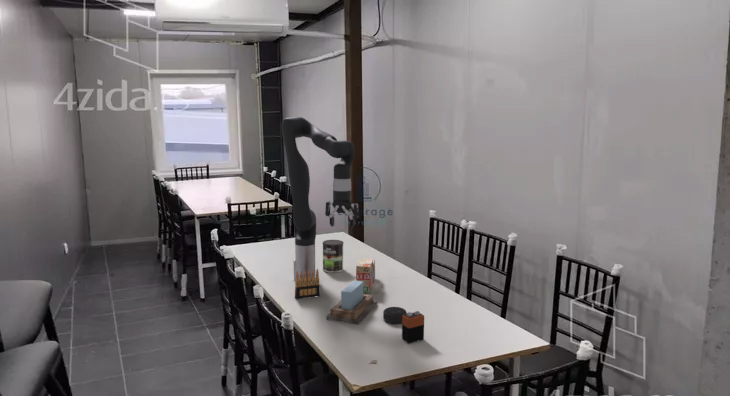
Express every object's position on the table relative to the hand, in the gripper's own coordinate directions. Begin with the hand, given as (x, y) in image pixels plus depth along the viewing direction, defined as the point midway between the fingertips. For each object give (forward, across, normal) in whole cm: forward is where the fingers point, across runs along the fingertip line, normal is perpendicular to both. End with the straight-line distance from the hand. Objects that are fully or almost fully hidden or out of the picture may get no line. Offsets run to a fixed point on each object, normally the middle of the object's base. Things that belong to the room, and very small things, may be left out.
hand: (342, 227), depth 231 cm
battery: (+30, +40, -33) cm, 60 cm away
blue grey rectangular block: (+29, +11, -16) cm, 35 cm away
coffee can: (+30, -18, +33) cm, 48 cm away
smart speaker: (+30, +29, -18) cm, 46 cm away
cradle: (+30, +11, -16) cm, 36 cm away
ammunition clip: (+30, -13, -7) cm, 34 cm away
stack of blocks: (+30, +5, +17) cm, 35 cm away
